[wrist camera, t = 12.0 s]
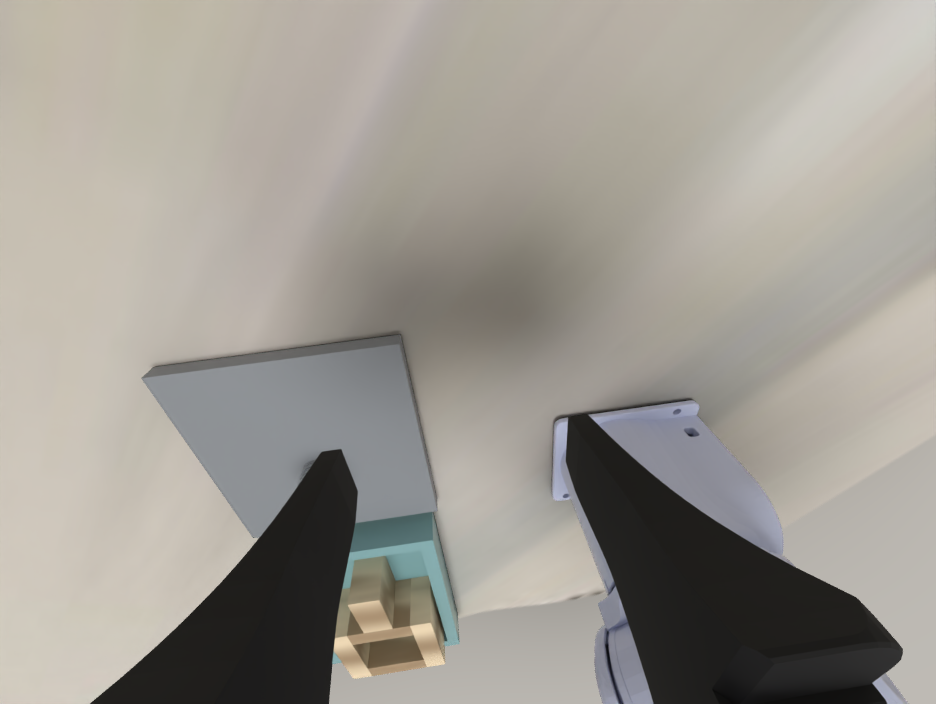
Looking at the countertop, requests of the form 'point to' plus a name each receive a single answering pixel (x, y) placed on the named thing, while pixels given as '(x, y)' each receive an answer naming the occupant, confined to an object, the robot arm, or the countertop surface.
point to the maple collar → (387, 622)
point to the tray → (408, 559)
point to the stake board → (302, 425)
